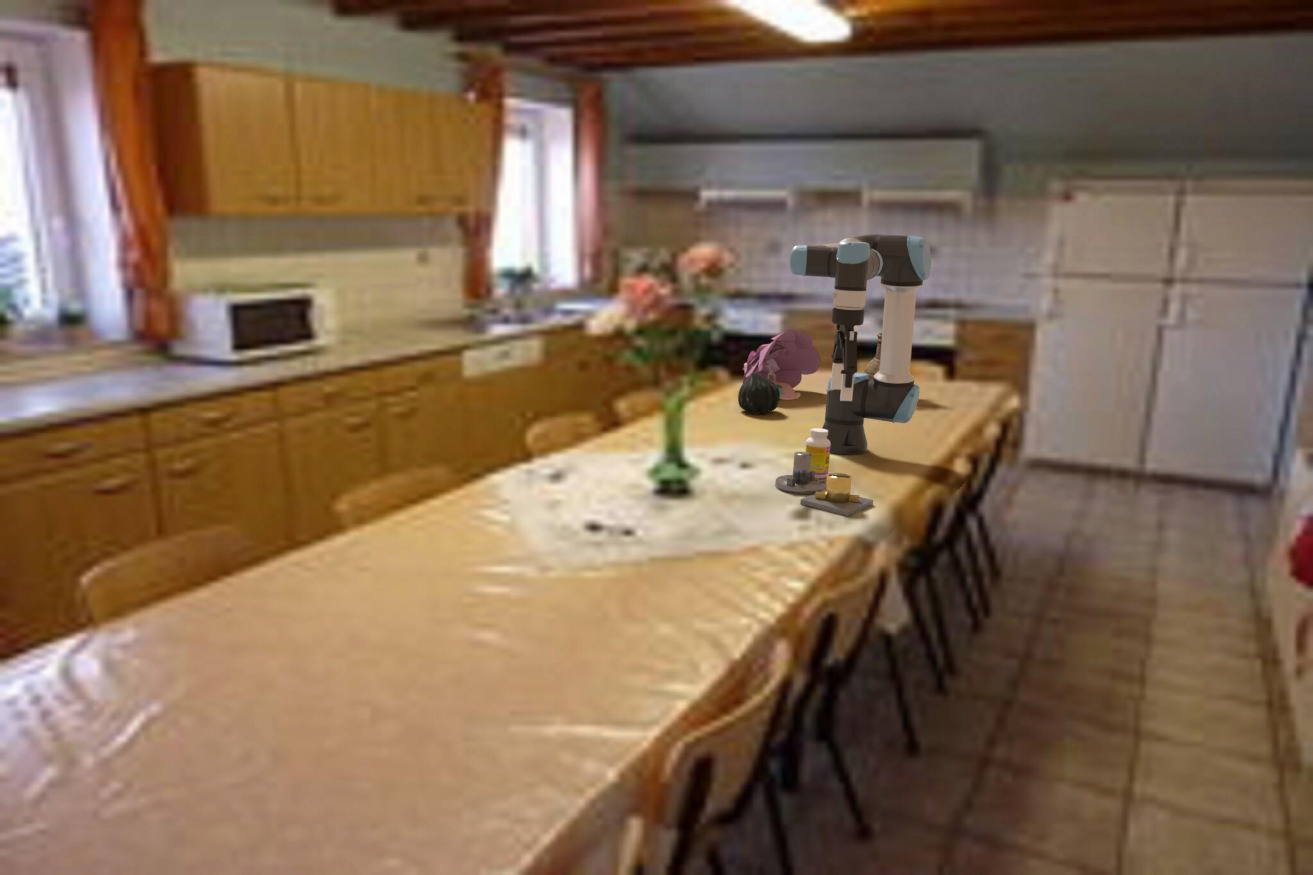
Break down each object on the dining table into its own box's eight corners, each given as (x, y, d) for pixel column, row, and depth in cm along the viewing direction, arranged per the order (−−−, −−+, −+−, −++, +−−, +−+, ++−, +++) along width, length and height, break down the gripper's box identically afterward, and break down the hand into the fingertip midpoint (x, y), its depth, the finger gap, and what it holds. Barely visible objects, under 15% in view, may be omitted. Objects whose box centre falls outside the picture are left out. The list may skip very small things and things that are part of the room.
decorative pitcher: (900, 404, 362) (907, 339, 356) (855, 398, 369) (861, 334, 363) (912, 395, 381) (919, 333, 375) (868, 390, 388) (874, 329, 382)
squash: (793, 398, 336) (769, 363, 338) (775, 406, 324) (750, 370, 326) (765, 419, 344) (742, 385, 346) (746, 427, 332) (722, 392, 334)
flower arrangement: (779, 417, 353) (796, 346, 342) (724, 396, 363) (739, 327, 351) (813, 394, 382) (830, 328, 370) (761, 376, 391) (776, 311, 380)
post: (791, 477, 255) (794, 445, 253) (834, 487, 247) (837, 454, 245) (765, 486, 245) (768, 453, 243) (809, 498, 237) (812, 463, 235)
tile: (826, 493, 242) (827, 488, 241) (872, 504, 234) (873, 500, 233) (800, 503, 232) (800, 499, 232) (847, 516, 224) (848, 511, 224)
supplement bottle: (827, 480, 254) (831, 433, 251) (802, 477, 255) (806, 431, 252) (828, 473, 260) (832, 428, 257) (803, 471, 261) (807, 426, 258)
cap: (858, 498, 235) (860, 474, 233) (859, 505, 229) (861, 480, 227) (815, 494, 236) (817, 470, 235) (815, 501, 230) (817, 476, 229)
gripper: (824, 301, 237) (817, 384, 243) (842, 313, 213) (834, 405, 218) (854, 302, 237) (847, 385, 243) (875, 314, 213) (866, 406, 218)
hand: (841, 394), depth 231 cm, fingers open, 13 cm apart
